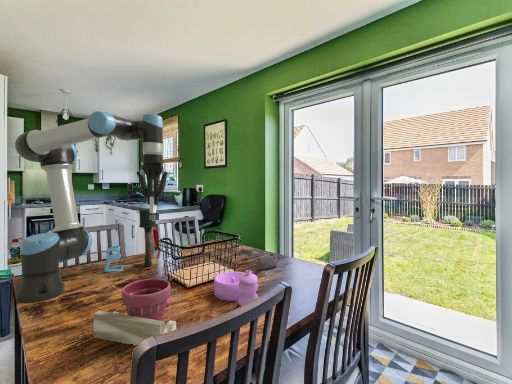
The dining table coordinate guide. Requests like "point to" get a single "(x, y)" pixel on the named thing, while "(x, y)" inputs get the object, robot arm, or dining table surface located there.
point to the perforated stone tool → (268, 261)
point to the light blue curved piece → (113, 257)
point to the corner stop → (128, 327)
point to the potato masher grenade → (147, 232)
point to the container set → (236, 286)
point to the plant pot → (146, 298)
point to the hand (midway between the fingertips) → (153, 212)
